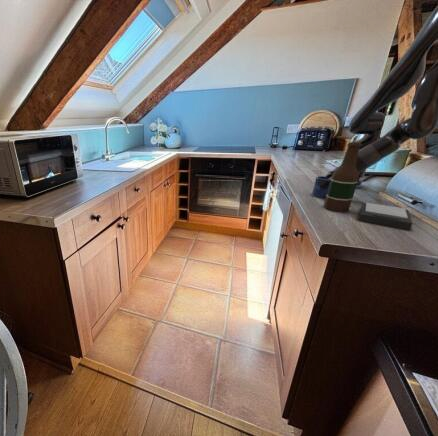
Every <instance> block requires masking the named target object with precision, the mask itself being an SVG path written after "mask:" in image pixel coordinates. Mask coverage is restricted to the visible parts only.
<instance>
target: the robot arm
mask: <svg viewBox="0 0 438 436" xmlns="http://www.w3.org/2000/svg"><path fill="white" fill-rule="evenodd" d="M437 40H438V5H437V6H436V7H435V8H434V9H433V10H432V12H431V13H430V14H429V16H428V17H427V19H426V21H425V22H424V23H423V25H422V26H421V28H420V29H419V31H418V33H417V35H416V36H415V38H414V39H413V41H412V42H411V43H410V45H409V46H408V48H407V49H406V51H405V52H404V53H403V55H402V56H401V57H400V59H399V60H398V61H397V63H396V64H395V65H394V66H393V67H392V69H391V70H390V71H389V73H388V74H386V76H385V78H384V79H383V80H382V82H381V83H380V85H379V86H378V88H377V89H376V90H375V91H374V92H373V94H372V95H371V96H370V98H369V99H367V101H366V102H365V103H364V104H363V105H362V107H361V108H359V110H357V112H355V114H354V115H353V117H352V118H351V120H350V121H349V123H348V126H347V130H348V132H349V134H351V135H363V136H362V137H361V138H360V139H357V140H355V141H353V142H360V143H361V146H360V148H359V152H358V157H357V161H356V168H357V170H358V174H359V178H358V182H357V186H356V189H358V188H361V187H362V183H363V182H366V181H367V180H369V179H370V178H372V177H376V174H375V175H371V174H369V175H368V176H366V177H365V175H366V172H367V169H369V168H370V167H372V166H374V165H375V164H377V163H379V162H380V161H382V160H383V159H385V158H387V157H388V156H390V155H392V154H394V153H395V152H397V151H398V150H400V148H401V146H402V144H404V143H406V142H407V141H409V140H410V139H411V140H422V139H425V138H427V137H428V136H430V135H431V134H432V133H433V132H434V131H435V129H436V127H437V125H438V60H437V61H436V62H435V63H434V64H433V65H432V66H431V67H430V68H429V69H428V70H427V71H426V63H427V62H426V61H427V54H428V52H429V50H430V49H431V47H432V46H433V44H434V43H435V42H436V41H437ZM425 71H426V72H425ZM418 82H419V83H418ZM417 83H418V85H417V86H416V89H415V91H414V94H413V97H412V100H411V104H410V107H411V109H412V112H411V116H410V117H408V118H406V119H404V120H402V121H401V122H399V123H398V124H397V125H395V126H394V127H393V128H391V129H390V130H389V131H387V133H385V134H384V135H383V136H381V137H380V134H381V132H382V130H383V127H384V124H385V120H386V117H385V114H384V113H383V112H380V110H381V109H383V108H384V107H386V106H389V105H390V104H392V103H394V102H396V101H398V100H399V99H401V98H402V97H404V96H405V95H406V94H408V93H409V92H410V91H411V89H413V87H414V86H415V85H416V84H417ZM338 167H339V166H337V167H336V168H333V169H331V170H329V172H328V173H327V174H326V175H325V176H326V177H332V174H333V173H334V171H335V170H336V169H337V168H338ZM330 180H331V178H329V180H326V181H325V182H323V183H321V184H320V187H321V188H322V189H324V188H326V187H327V186H329V184H330Z"/></svg>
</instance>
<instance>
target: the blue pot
mask: <svg viewBox="0 0 438 436" xmlns="http://www.w3.org/2000/svg"><path fill="white" fill-rule="evenodd" d="M329 178H331V177H326V175H324V176H323V175H319V176H316V177H315V181H314V185H313V187H312V193H311V196H312V197H314V198H320V199H325V198H326V195H327V191H328V187H329V186H327V187H326V188H324V189H322V188H321V187H320V184H321V183H323V182H325V181H326V180H329Z"/></svg>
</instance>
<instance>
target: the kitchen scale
mask: <svg viewBox="0 0 438 436" xmlns="http://www.w3.org/2000/svg"><path fill="white" fill-rule="evenodd" d="M358 222H363V223H369V224H374V225H380V226H385V227H390V228H396V229H401V230H406V231H411V228H412V226H413V220H412V216H411V214H410V210H408V209H406V208H405V207H398V206H393V205H392V206H391V205H386V204H385V205H384V204H378V203H371V202H366V203H364V202H362V203H361V206H360V210H359V216H358Z"/></svg>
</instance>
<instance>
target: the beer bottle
mask: <svg viewBox="0 0 438 436" xmlns="http://www.w3.org/2000/svg"><path fill="white" fill-rule="evenodd" d="M360 146H361V143H360V142H354V141H350V142H348V143H347V148H346V151H345V154H344V157H343V159H342V162H341V163H340V165H339V166H337V167H338V168H337V167H336V168H337V169H336V170H335V171H334V173H333V174H332V177H331V180H330V184H329V187H328V191H327V195H326V198H324V202H323V207H324V208H325V209H326V210H328V211H332V212H336V213H337V212H338V213H344V212H348V211H349V210H350V208H351V204H352V201H353V198H354V196H355V195H354V194H355V191H356V189H357V188H356V186H357V182H358V178H359V174H358V170H357V168H356V161H357V157H358V152H359V148H360Z"/></svg>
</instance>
